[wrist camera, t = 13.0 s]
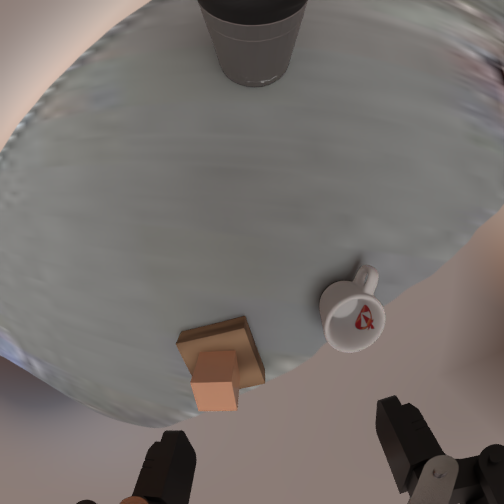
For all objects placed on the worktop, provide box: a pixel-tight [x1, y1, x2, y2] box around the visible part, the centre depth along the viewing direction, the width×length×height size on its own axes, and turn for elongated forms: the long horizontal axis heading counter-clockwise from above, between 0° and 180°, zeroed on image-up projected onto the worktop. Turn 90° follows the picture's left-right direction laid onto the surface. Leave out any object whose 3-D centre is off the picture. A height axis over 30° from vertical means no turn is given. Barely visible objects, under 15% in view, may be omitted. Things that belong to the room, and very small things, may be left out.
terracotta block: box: [191, 350, 240, 411], centre depth 37 cm, size 5×5×7 cm
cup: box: [319, 265, 386, 352], centre depth 37 cm, size 11×8×8 cm
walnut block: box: [176, 316, 265, 389], centre depth 42 cm, size 10×10×4 cm
